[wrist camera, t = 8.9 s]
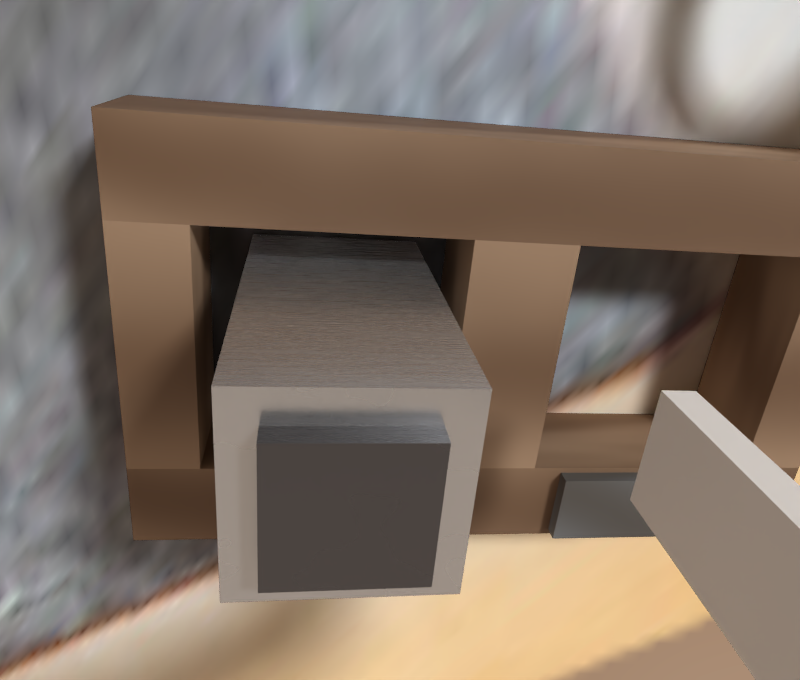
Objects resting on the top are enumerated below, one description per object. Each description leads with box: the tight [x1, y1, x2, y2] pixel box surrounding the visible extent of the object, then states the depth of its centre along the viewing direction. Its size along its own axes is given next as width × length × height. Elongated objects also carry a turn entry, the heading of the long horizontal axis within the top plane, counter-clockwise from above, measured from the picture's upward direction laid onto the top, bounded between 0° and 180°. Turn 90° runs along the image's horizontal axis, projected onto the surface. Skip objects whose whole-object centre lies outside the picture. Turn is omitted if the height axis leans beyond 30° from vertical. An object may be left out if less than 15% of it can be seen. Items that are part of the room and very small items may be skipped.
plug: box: [211, 234, 492, 603], centre depth 15 cm, size 4×4×9 cm
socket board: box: [91, 95, 800, 540], centre depth 18 cm, size 11×19×3 cm, turn 85°
